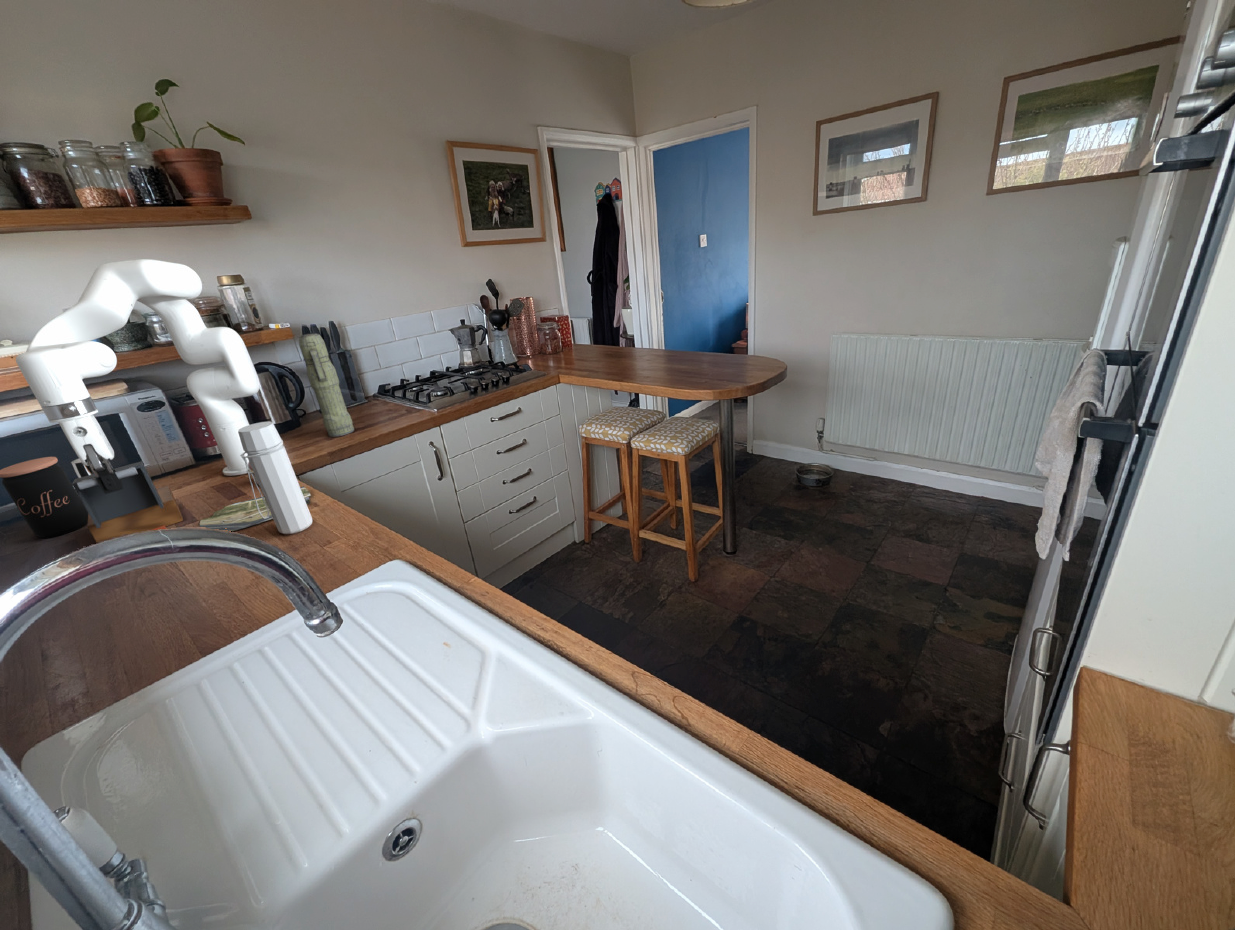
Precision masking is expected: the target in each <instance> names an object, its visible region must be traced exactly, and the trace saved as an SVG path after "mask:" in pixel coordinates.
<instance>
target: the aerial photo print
mask: <svg viewBox="0 0 1235 930" xmlns="http://www.w3.org/2000/svg"><path fill="white" fill-rule="evenodd" d="M300 488H301V491H302V494H303V496H304V499H305V501H306V504H307V505H309V504H311V499H310V497H312V494H311V492H310V490H308V489H307V488H306V487H305V486H304V485H303V486H300ZM262 496H263V498H264V495H262ZM256 500H257V504H258V508H259V510H260V512H261V514H262V515H263V517H266V516H267V514H268V510H267V508H266V506H265V503H264V501H263V499H262V497H261V496H260V497H256ZM264 500H265V498H264ZM265 502H266V500H265ZM266 504H267V502H266ZM267 507H268V505H267ZM268 509H269V507H268ZM260 512H259V511H258V509H257V505H256V502H255V498H252V499H248V500H243V501H239V502H234V503H232V504H229V505H226V506H224V507H223V508H222V509H219V510H217V511H214V512H213V515H212V516H210V517H206V518H203V519H200V521H199V527H206V528H210V529H219V530H228V531H232V532H234V531H238V530H242V529H245V528H248V527H252V526H255V525H258V524H261V523H263V522H266V521H270V520H274V519H273V517H272V514H271V512H270V510H269V512H270V515H269V518H266V519H264V518H263V517H262V516H261V514H260ZM199 527H198V528H199ZM225 528H227V529H225Z"/></svg>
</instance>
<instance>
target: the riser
mask: <svg viewBox="0 0 1235 930" xmlns="http://www.w3.org/2000/svg"><path fill="white" fill-rule="evenodd" d="M156 490H157V492H158V494H159V496H160V498H161V500H162V502H163V506H164V508H160V506H159V505H155V506H152V507H149V508H146V509H143V510H139V511H136V512H133V513H130V514H126V515H123V516H120V517H117V518H114V519H110V520H107V521H104V522H102V523H101V528H98V529H97V527H96V526H95V524H94V522H93V520H92V518H91V517H90V515H89V513H88V523H87V524H86V525H87V528H88V530H89V532H90V534H91V535H92V537H93V539H94V541H95V542H96V543H97V542H100V541H104V540H107V539H111V538H112V537H119V536H121V535H124V534H132V533H135V532H141V531H147V530H152V529H155V528H158V527H161V526H164V525H165V527H166V528H167V527H169V526H172V525H175V524H178V523H180V522H183V521H184V518H183V515H182V512H181V509H180V507H179V504H178V502H177V500H176V498H175V496H174V494H173V492H172V490H171V488H170V486H169V485H165V486H161V487H158V488H156Z"/></svg>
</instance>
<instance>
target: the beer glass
mask: <svg viewBox="0 0 1235 930" xmlns="http://www.w3.org/2000/svg"><path fill="white" fill-rule="evenodd" d="M70 464H71V465H72V467H73V470H74V472H75V475H76V476H77V478H81V477H84V476H88V475H92V474H94V472H93V470H92V469H91V467H90V465H89V466H86V465H83V463H82V462H81V460H80V459H79V458H76V459H74V460H72V461H71V462H70Z"/></svg>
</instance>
